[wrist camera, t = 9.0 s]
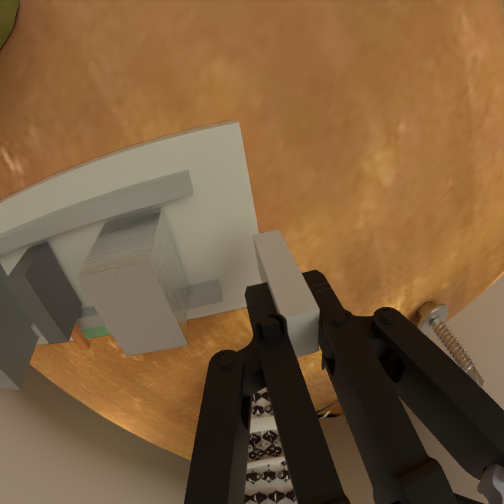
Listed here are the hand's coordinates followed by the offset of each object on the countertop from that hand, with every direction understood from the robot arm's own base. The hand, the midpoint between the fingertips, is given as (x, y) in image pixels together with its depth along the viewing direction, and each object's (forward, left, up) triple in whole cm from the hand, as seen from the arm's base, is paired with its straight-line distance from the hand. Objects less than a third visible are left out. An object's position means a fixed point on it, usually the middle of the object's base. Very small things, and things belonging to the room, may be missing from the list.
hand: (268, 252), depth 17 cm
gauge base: (0, -12, -5) cm, 13 cm away
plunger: (0, -8, -3) cm, 8 cm away
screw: (+17, +19, -5) cm, 26 cm away
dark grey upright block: (+2, -16, -3) cm, 16 cm away
